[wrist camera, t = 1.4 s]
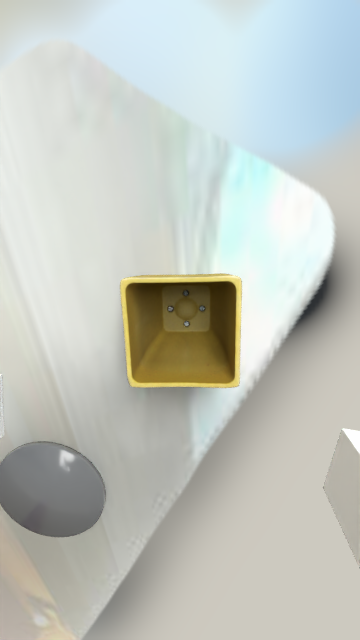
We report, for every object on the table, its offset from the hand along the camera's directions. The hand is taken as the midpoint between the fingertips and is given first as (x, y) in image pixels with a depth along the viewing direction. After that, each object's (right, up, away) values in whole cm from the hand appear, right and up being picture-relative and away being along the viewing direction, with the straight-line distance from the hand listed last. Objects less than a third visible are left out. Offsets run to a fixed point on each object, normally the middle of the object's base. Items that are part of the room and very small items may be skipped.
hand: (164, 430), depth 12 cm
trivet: (-16, -17, +27) cm, 36 cm away
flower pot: (+1, +6, +20) cm, 21 cm away
